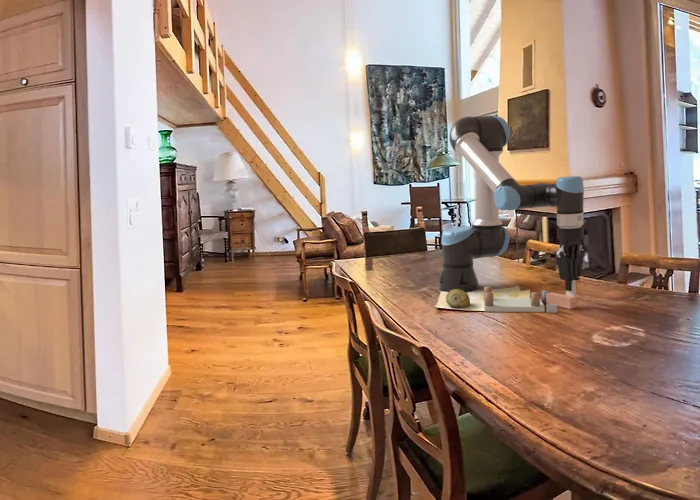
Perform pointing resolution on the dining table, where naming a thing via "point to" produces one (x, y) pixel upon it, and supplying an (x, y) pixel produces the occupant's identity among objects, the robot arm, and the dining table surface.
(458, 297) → the seashell
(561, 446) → the dining table surface
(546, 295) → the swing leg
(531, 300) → the pale board with pegs
